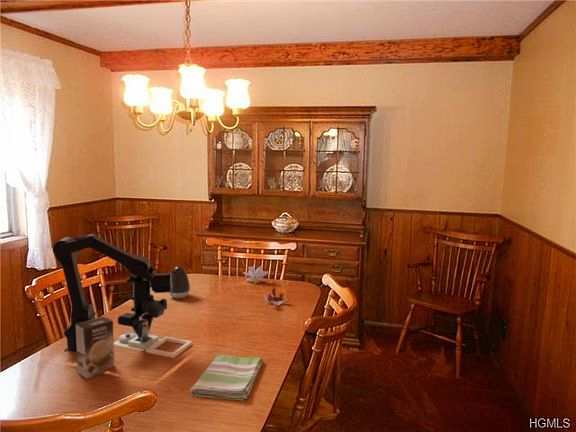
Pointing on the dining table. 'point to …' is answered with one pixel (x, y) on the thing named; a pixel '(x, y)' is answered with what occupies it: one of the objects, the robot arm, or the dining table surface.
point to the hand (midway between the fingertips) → (143, 335)
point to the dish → (169, 354)
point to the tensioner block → (136, 341)
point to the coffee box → (94, 346)
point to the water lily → (255, 274)
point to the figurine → (274, 298)
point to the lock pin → (144, 332)
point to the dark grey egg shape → (179, 283)
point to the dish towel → (228, 378)
